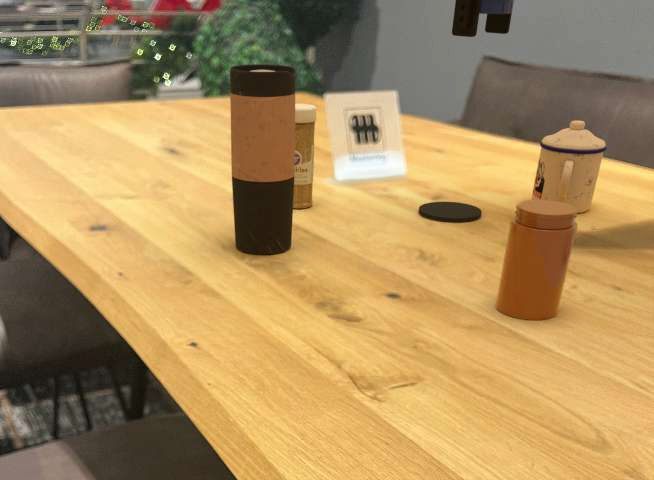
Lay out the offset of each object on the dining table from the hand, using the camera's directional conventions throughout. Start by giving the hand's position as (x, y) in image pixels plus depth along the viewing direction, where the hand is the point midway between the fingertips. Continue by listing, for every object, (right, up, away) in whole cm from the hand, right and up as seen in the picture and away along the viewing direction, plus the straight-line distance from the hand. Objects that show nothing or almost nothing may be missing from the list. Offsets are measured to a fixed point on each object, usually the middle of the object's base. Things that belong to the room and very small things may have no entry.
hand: (480, 33), depth 95 cm
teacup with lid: (+17, -15, +19) cm, 29 cm away
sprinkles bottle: (-22, -14, +19) cm, 33 cm away
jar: (+1, -38, -14) cm, 40 cm away
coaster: (0, -17, +16) cm, 23 cm away
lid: (0, +3, -2) cm, 4 cm away
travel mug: (-27, -26, +3) cm, 38 cm away
